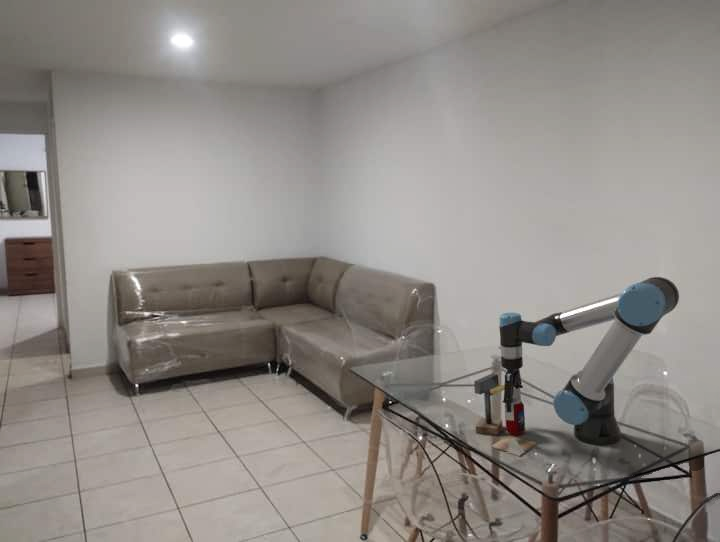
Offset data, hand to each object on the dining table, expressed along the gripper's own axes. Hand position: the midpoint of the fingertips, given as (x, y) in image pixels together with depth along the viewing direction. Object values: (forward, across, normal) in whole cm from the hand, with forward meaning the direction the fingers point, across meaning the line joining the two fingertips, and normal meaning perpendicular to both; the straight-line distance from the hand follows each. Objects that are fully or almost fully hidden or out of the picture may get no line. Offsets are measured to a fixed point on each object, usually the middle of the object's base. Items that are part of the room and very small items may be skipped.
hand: (513, 412), depth 210 cm
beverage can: (+8, 0, 0) cm, 8 cm away
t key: (+5, -2, -8) cm, 10 cm away
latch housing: (+8, 0, -9) cm, 12 cm away
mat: (+7, +12, +2) cm, 14 cm away
